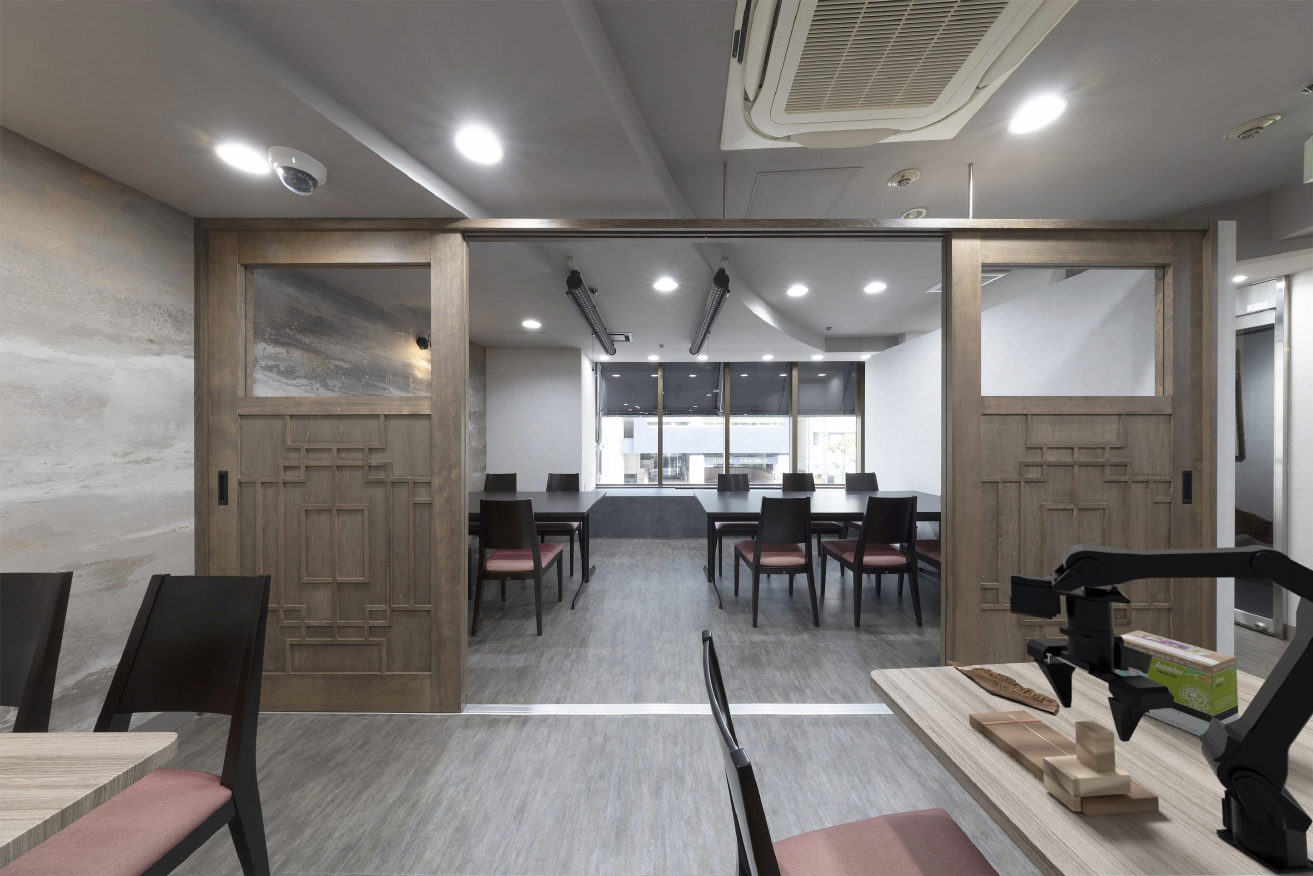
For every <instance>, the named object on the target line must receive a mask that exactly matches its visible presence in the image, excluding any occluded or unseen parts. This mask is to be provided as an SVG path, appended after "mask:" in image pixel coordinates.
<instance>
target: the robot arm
mask: <svg viewBox="0 0 1313 876" xmlns="http://www.w3.org/2000/svg"><path fill="white" fill-rule="evenodd" d="M1061 560H1062V561H1061V563H1060V564H1059V565H1058V566H1057V567H1056V568H1055V569H1054V570H1053V571H1051V573H1050V574H1049V575H1048V577H1039V576H1030V575H1025V574H1021V573H1014V572H1012V573H1010V588H1009V608H1010V609H1009V610H1010V614H1012V615H1017V616H1018V615H1020V616H1026V617H1030V618H1031V617H1033V618H1038V619H1044V620H1045V619H1046V620H1053V619H1054V618H1057V617H1058V616H1059V615H1061V614H1062V605H1061V604H1062V603H1061V602H1062V601H1061V596H1063V597H1064V601H1065V602H1064V604H1065V606H1064V607H1065V625H1063V626H1058V627H1059V633H1060V634H1062V635H1064V636H1066V642H1065V641H1064V640H1060V639H1059V638H1056V637H1038V638H1037V637H1036V638H1030V639H1029V640H1028V642H1027V643H1026V654H1027V655H1028V656H1030V657H1031V658H1032V659H1033V663H1035V664H1036V665H1037V666H1038V668H1039V669H1040V671H1041V672H1042V674H1043V676H1045V678H1046V680H1047V681H1048V683H1049V685H1050V687H1051V688H1052V690H1053V691H1054V693H1055V695H1056V697H1057V698H1058V700H1059V701H1060V704H1061V705H1062V707H1063V708H1065V709H1070V708H1071V707H1072V703H1073V702H1072V701H1073V674H1074V672H1075V671H1076V669H1077V670H1080V671H1082V672H1084V673H1086V674H1088V675H1090V676H1092V677H1095V679H1099V680H1101V681H1102V682H1104V683H1107V684H1108V691H1109V693H1110V694H1111V695H1112V696H1107V701H1108V704H1109V705H1108V706H1109V709H1110V712H1111V715H1112V719H1113V723H1114V727H1115V729H1116V734H1117V736H1118V738H1119V740H1120V741H1121V742H1123V743H1124V742H1125V743H1126V742H1130V741H1131V738H1132V736H1133V735H1134V733H1135V731H1136V729H1137V727H1138V725H1139V723H1140V721H1141V719H1142V718H1143V717H1144V716H1145V715H1146V714H1145V713H1146V712H1147V711H1149V710H1156V709H1163V708H1174V695H1173V692H1172V691H1171V690H1170V689H1169V688H1168V687H1167V686H1164V685H1162V684H1160V683H1158V682H1155V681H1153V680H1151V679H1148V678H1146V677H1144V676H1141V675H1136V676H1121V675H1119V674H1117V673H1115V672H1116V670H1120V671H1129V667H1131V668H1133V669H1136V670H1139V671H1141V672H1142V673H1144V674H1148V672H1149V669H1150V665H1151V662H1152V658H1153V655H1151V654H1148V653H1146V652H1143V651H1140V650H1138V649H1135V648H1133V647H1130V646H1127V645H1125V644H1124V639H1123V638H1122V636H1120V634H1116V633H1115V622H1114V619H1115V618H1114V617H1115V616H1114V603H1117V604H1124V605H1125V604H1126V605H1130V604H1131V599H1130V598H1129V596H1128V595H1127V594H1126V593H1124V592H1123V591H1121V590H1120V589H1119V588H1118V587H1117V585H1121V584H1126V583H1130V582H1134V581H1138V580H1143V579H1144V580H1145V579H1191V578H1192V579H1194V578H1195V579H1201V578H1202V579H1203V578H1204V579H1205V578H1208V579H1210V578H1211V579H1213V578H1214V579H1215V578H1217V579H1218V578H1219V579H1220V578H1224V579H1225V578H1229V579H1230V578H1231V579H1233V578H1235V579H1236V578H1262V579H1267V580H1269V581H1270V582H1272V583H1274V584H1276V585H1278V586H1280V587H1282V588H1283V589H1285V590H1287V591H1288V592H1291V593H1292V594H1294V595H1296V596H1298V597H1300V598H1299V601H1298V604H1297V607H1296V611H1295V633H1294V634H1295V635H1294V637H1293V639H1292V640H1291V642H1290V643H1289V645H1288V646H1287V647H1286V649H1285V651H1284V652H1283V653H1282V655H1281V656H1280V658H1279V659H1278V661H1277V662H1276V664H1275V666H1274V667H1273V668H1272V670H1271V672H1270V673H1269V674H1268V676H1267V677H1266V679H1265V680H1264V682H1263V684H1262V685H1261V686H1260V688H1259V689H1258V691H1257V692H1256V694H1255V695H1254V697H1253V698H1252V699H1251V702H1250V703H1249V704H1248V706H1247V707H1246V709H1245V710H1244V712H1243V713H1242V715H1241V716H1240V717H1238V719H1237V720H1235V721H1233V722H1230V723H1228V724H1224V723H1223V722H1221V721H1219V720H1218V719H1216V718H1212V719H1211V721H1210V724H1209V727H1208V729H1207V731H1206V732H1205V733H1204V734H1202V735H1200V736H1198V739H1199V741H1200V742H1201V746H1200V747H1201V748H1200V749H1201V753H1202V755H1203V757H1204V759H1205V760H1206V762H1207V764H1208V766H1209V767H1210V768H1211V770H1212V772H1213V773H1214V775H1215V776H1216V778H1217V780H1218V782H1219V783H1220V784H1221V786H1223V787H1224V790H1223V791H1224V797H1221V798H1220V799H1221V801H1220V802H1221V813H1222V814H1221V818H1222V822H1221V823H1222V826H1223V828H1220V829H1216V830H1215V831H1216V835H1217V836H1219V837H1220V838H1221V839H1223V840H1225V841H1226V842H1228V843H1230V844H1231V845H1232V846H1234V847H1236V848H1237V849H1238V850H1240V851H1242V852H1243V853H1246V854H1247V855H1248V856H1250V857H1252V858H1253V859H1254V860H1255V861H1257V860H1258V861H1257V862H1259V863H1260V864H1262V865H1263V866H1265V867H1267V868H1268V869H1269V870H1271V871H1273V872H1275V873H1278V874H1284V873H1287V874H1288V873H1296V872H1297V873H1298V872H1306V871H1307V872H1308V871H1313V860H1312V859H1310V858H1309V857H1308V855H1309V853H1308V837H1307V832H1308V830H1309V828H1310V827H1311V825H1312V824H1313V819H1312V818H1311V816H1310V815H1309V814H1308V812H1307V811H1305V809H1304V807H1302V806H1301V804H1300V803H1299V802H1298V801H1297V799H1296V798H1295V797H1294V796H1293V794H1292V793H1291V792H1290V790H1288V788H1287V787H1286V784H1287V780H1288V777H1289V764H1290V763H1289V752H1290V748H1291V746H1292V744H1293V743H1294V742H1295V741H1296V739H1297V738H1298V736H1299V735H1300V733H1301V732H1302V730H1303V729H1304V728H1305V726H1306V725H1307V723H1309V721H1310V719H1311V718H1312V716H1313V569H1312V568H1309V567H1307V566H1305V565H1303V564H1301V563H1299V562H1297V561H1296V560H1294V559H1292V558H1290V557H1289V556H1288V555H1287V554H1285V553H1284V552H1282V551H1279V550H1277V549H1273V548H1272V547H1268V546H1265V545H1261V544H1259V545H1258V544H1250V545H1246V546H1237V547H1234V546H1233V547H1206V548H1205V547H1201V548H1200V547H1198V548H1170V549H1169V548H1167V549H1139V550H1137V549H1127V548H1118V547H1114V546H1108V545H1107V546H1106V545H1097V544H1086V543H1083V544H1082V543H1079V544H1073V545H1071V546H1068V548H1067V549H1066V550H1065V551H1064V552H1063V555H1062V558H1061ZM1080 588H1081V589H1080ZM1057 615H1058V616H1057Z"/></svg>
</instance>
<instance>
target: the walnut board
mask: <svg viewBox="0 0 1313 876" xmlns="http://www.w3.org/2000/svg"><path fill="white" fill-rule="evenodd" d="M968 719H969V720H968V721H969V725H970V726H972V727H973V728H974V729H975V730H977V732H979V733H980V734H982V735H983V736H984V737H986V738H987V739H988V740H989V741H991V742H992V743H993V744H995V745H996V746H997V747H998V748H1000V750H1002V751H1003V752H1004V753H1006V754H1007V755H1009V756H1010V757H1011V759H1014V760H1015V761H1016V762H1017V763H1019V764H1020V765H1021V766H1023V768H1024V769H1026V770H1028V771H1029V772H1030V773H1031V774H1032V775H1034V777H1036V778H1037V779H1039V780H1040V781H1041V782H1043V783H1044V771H1043V758H1044V757H1058V756H1072V755H1076V742H1075V741H1072V740H1071V739H1069V738H1068V737H1066V736H1065V735H1063V734H1062V733H1061V732H1058V731H1057V730H1056V729H1054V728H1052V727H1051V726H1049V725H1048V724H1047V723H1044V722H1043V721H1042V720H1041V719H1039V718H1037V717H1036V716H1033V715H1032V714H1031V713H1029V712H1028V711H1027V710H1011V711H1009V710H1008V711H1007V710H1006V711H996V712H995V711H993V712H978V713H977V712H976V713H969V714H968ZM1130 786H1131V793H1126V794H1113V795H1100V796H1087V797H1080V800H1081V811H1080V812H1081V813H1082V814H1084V816H1086V817H1092V816H1106V815H1116V814H1128V813H1129V814H1130V813H1141V812H1152V811H1160V803H1159V800H1160V799H1159V796H1158V795H1156V794H1154V793H1153V792H1152V791H1150V790H1149V789H1146V788H1145V787H1144V786H1142V785H1141V784H1140V783H1137V782H1136V781H1135V780H1132V779H1131V778H1130Z"/></svg>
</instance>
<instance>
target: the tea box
mask: <svg viewBox="0 0 1313 876" xmlns="http://www.w3.org/2000/svg"><path fill="white" fill-rule="evenodd" d="M1119 636H1122V638H1123V639H1124V644H1125V645H1127V646H1130V647H1133V648H1135V649H1138V650H1140V651H1143V652H1146V653H1148V654H1151V655H1153V658H1152V662H1151V665H1150V669H1149V672H1148V674H1144V673H1142V672H1141V671H1139V670H1136V669H1133V668H1131V667H1129V671H1120V670H1116V672H1115V673H1117V674H1119V675H1121V676H1136V675H1141V676H1144V677H1146V678H1148V679H1151V680H1153V681H1155V682H1158V683H1160V684H1162V685H1164V686H1167V687H1168V688H1169V689H1170V690H1171V691H1172V692H1173V695H1174V708H1163V709H1156V710H1149V711H1147V712H1146V713H1145V714H1144V715H1147V716H1150V717H1152V718H1155V719H1156V720H1159V721H1161V722H1164V723H1166V724H1169V725H1171V726H1174V727H1176V728H1178V729H1181V730H1183V731H1186V732H1188V733H1191V734H1193V735H1195V736H1200V735H1202V734H1204V733H1205V732H1206V731H1207V729H1208V727H1209V724H1210V721H1211V719H1212V718H1216V719H1218V720H1219V721H1221V722H1223V723H1224V724H1228V723H1230V722H1233V721H1235V720H1237V719H1239V699H1238V698H1239V695H1238V693H1239V692H1238V673H1237V672H1238V670H1237V668H1238V667H1237V666H1238V665H1237V657H1235V656H1231V655H1227V654H1225V653H1221V652H1217V651H1214V650H1211V649H1210V650H1209V649H1207V648H1203V647H1199V646H1196V645H1192V644H1189V643H1186V642H1182V641H1178V640H1174V639H1172V638H1171V639H1170V638H1168V637H1164V636H1160V635H1157V634H1153V633H1149V632H1146V631H1142V630H1138V629H1137V630H1135V631H1131V632H1128V633H1125V634H1119Z"/></svg>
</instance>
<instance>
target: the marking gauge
mask: <svg viewBox="0 0 1313 876" xmlns="http://www.w3.org/2000/svg"><path fill="white" fill-rule="evenodd" d="M1074 724H1075V726H1074V727H1075V743H1076V755H1072V756H1058V757H1044V758H1043V771H1044V782H1043V788H1044V789H1045V790H1046V791H1047V792H1049V793H1050V794H1051V795H1052V796H1053V797H1055V798H1056V799H1058V800H1059V801H1060V802H1061V803H1062V804H1064V805H1065V806H1066V807H1068V809H1070V810H1071V811H1072V812H1081V800H1080V797H1087V796H1100V795H1113V794H1126V793H1131V786H1130V779H1131V774H1129V773H1128V772H1127V771H1125V770H1123V769H1122V768H1120V767H1119V766H1117V765H1116V753H1115V752H1116V750H1115V732H1114V731H1112V730H1111V729H1110V728H1109V729H1108V728H1107V727H1106V726H1103V725H1102V724H1100V723H1098V722H1096V721H1095V720H1083V721H1081V720H1080V721H1074Z"/></svg>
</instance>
